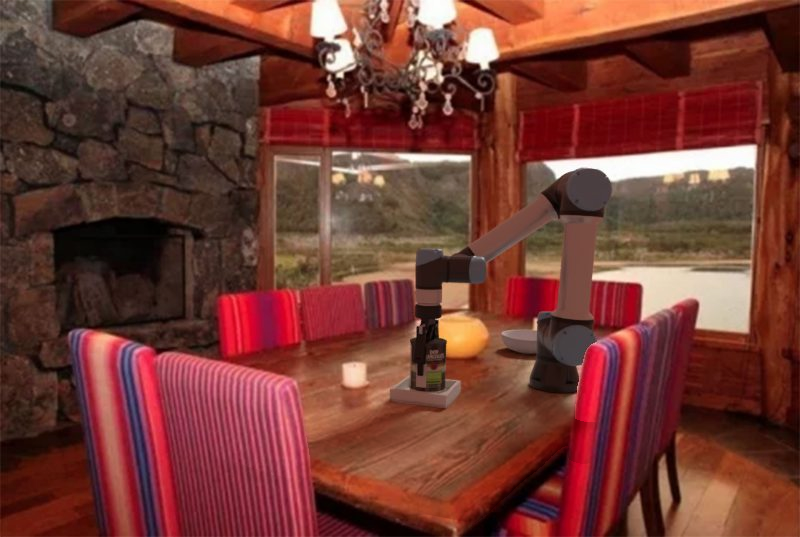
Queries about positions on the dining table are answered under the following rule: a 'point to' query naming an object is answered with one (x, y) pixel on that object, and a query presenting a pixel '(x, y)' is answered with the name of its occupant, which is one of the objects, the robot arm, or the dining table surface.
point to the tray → (425, 394)
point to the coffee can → (430, 366)
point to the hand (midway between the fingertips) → (426, 382)
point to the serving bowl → (520, 340)
